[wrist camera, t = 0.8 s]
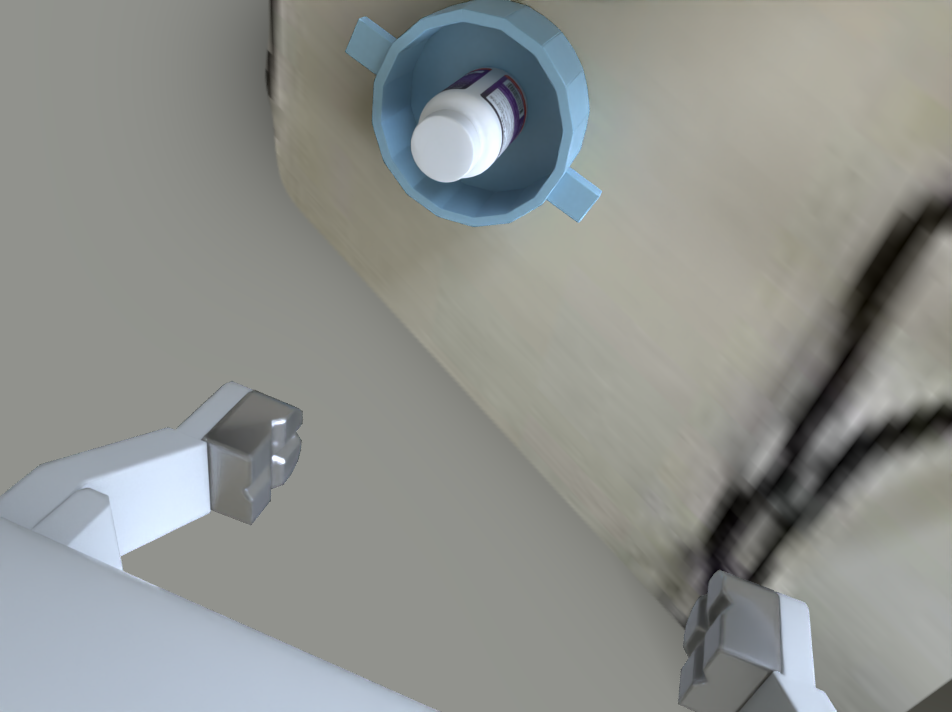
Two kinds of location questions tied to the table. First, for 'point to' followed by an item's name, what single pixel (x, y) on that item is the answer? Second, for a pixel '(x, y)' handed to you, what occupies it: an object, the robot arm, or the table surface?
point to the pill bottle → (469, 125)
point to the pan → (450, 58)
